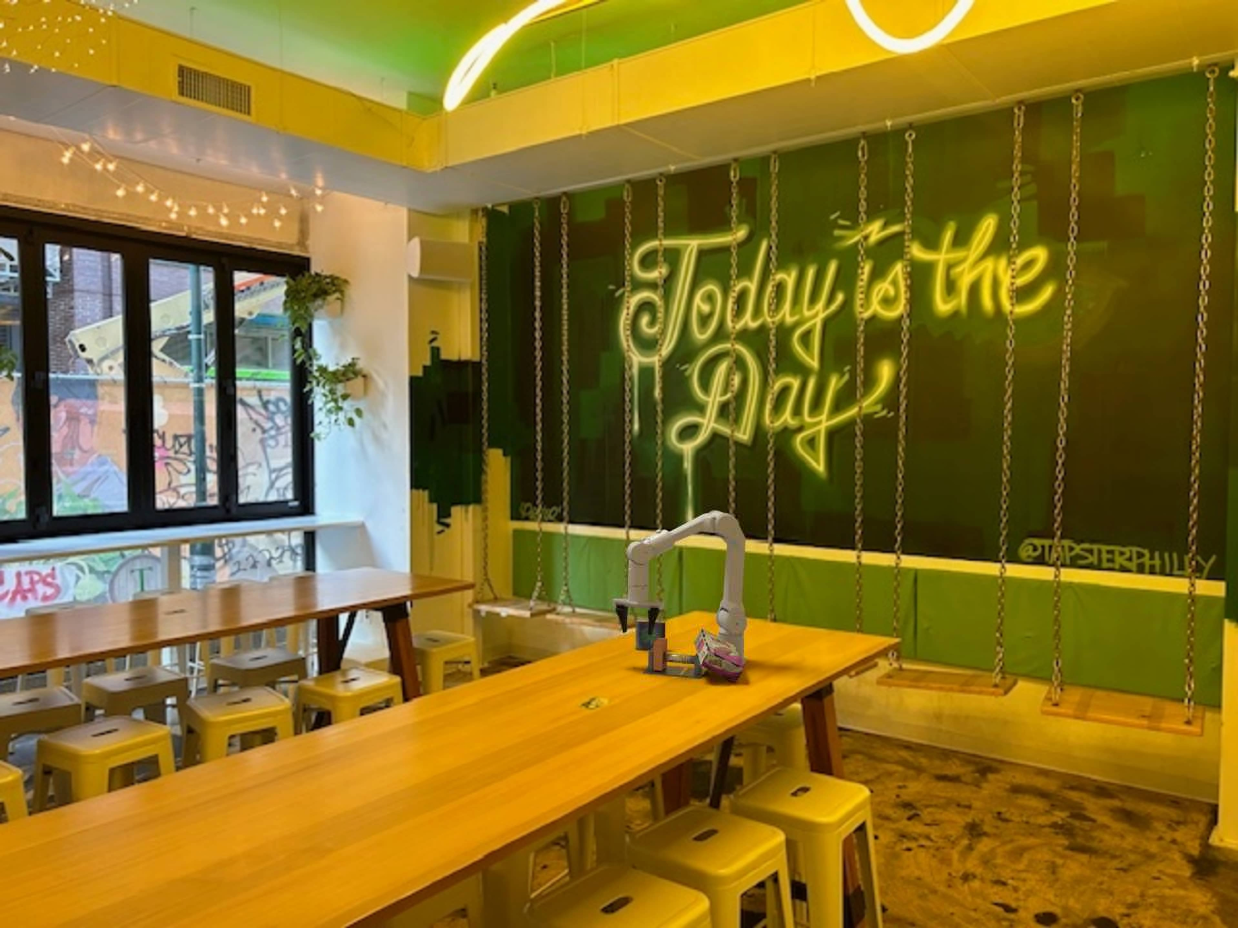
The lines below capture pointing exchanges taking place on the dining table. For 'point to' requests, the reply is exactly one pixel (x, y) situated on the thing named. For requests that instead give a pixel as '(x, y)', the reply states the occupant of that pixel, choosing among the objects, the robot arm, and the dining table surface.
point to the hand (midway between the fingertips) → (637, 633)
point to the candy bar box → (718, 655)
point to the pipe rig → (677, 670)
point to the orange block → (659, 654)
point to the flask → (642, 635)
